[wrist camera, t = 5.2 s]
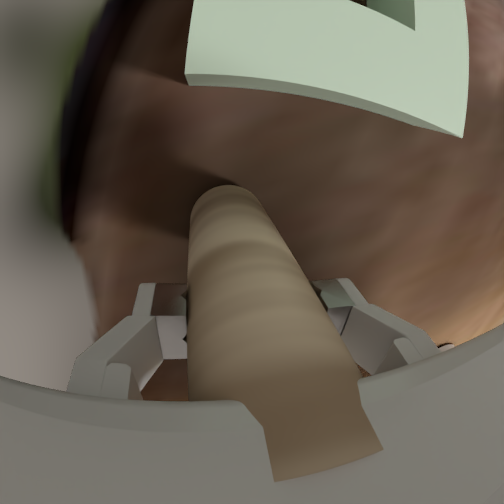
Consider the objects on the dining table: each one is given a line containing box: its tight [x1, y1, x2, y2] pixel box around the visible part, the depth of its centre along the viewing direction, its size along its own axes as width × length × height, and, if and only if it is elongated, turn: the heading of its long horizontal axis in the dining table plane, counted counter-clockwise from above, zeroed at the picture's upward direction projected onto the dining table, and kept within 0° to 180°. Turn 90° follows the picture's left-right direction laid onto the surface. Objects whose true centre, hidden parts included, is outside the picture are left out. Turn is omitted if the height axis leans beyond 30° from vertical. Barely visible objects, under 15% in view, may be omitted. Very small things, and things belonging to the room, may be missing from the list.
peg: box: [187, 185, 384, 482], centre depth 9 cm, size 4×4×13 cm
